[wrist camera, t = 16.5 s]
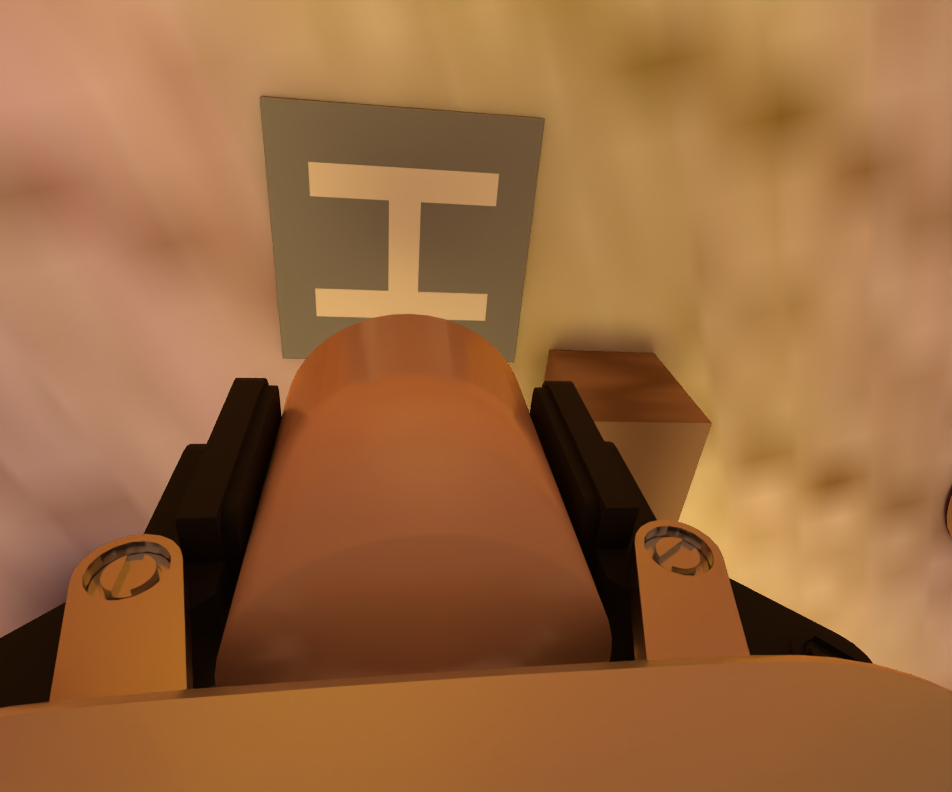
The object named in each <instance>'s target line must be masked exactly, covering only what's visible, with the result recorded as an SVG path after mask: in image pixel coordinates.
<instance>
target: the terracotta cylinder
mask: <svg viewBox="0 0 952 792" xmlns="http://www.w3.org/2000/svg"><path fill="white" fill-rule="evenodd" d="M611 647H612V636H611V631H610V625H609V620H608V618H607V615H606V613H605V610H604V607H603V605H602V602H601V599H600V597H599V594H598V592H597V589H596V586H595V584H594V581H593V578H592V576H591V573H590V571H589V568H588V565H587V563H586V560H585V557H584V555H583V552H582V550H581V547H580V544H579V542H578V539H577V536H576V534H575V531H574V529H573V526H572V523H571V521H570V518H569V515H568V513H567V510H566V508H565V505H564V502H563V500H562V497H561V494H560V492H559V489H558V487H557V484H556V481H555V479H554V476H553V473H552V471H551V468H550V466H549V463H548V460H547V458H546V455H545V452H544V450H543V447H542V445H541V442H540V439H539V437H538V434H537V431H536V429H535V426H534V424H533V421H532V418H531V416H530V413H529V410H528V408H527V405H526V403H525V400H524V397H523V395H522V392H521V389H520V387H519V384H518V382H517V379H516V377H515V375H514V372H513V371H512V369H511V367H510V366H509V364H508V362H507V361H506V360H505V358H504V357H503V356H502V355H501V354H500V352H499V351H498V350H497V349H496V348H495V347H494V346H493V345H491V344H490V343H489V342H488V341H487V340H486V339H484V338H483V337H481V336H480V335H478V334H477V333H475V332H474V331H472V330H470V329H468V328H466V327H464V326H462V325H460V324H457V323H455V322H452V321H449V320H446V319H442V318H438V317H433V316H428V315H418V314H393V315H386V316H380V317H375V318H371V319H368V320H364V321H361V322H358V323H356V324H353V325H351V326H349V327H346V328H344V329H342V330H341V331H339V332H337V333H336V334H334V335H332V336H330V337H329V338H328V339H327V340H325V341H324V342H323V343H321V344H320V345H319V346H318V347H317V348H316V349H315V350H314V351H313V352H312V353H311V354H310V355H309V356H308V357H307V358H306V360H305V361H304V362H303V364H302V365H301V366H300V368H299V369H298V371H297V373H296V375H295V377H294V379H293V381H292V383H291V386H290V389H289V392H288V395H287V399H286V402H285V406H284V410H283V414H282V417H281V421H280V425H279V428H278V432H277V436H276V440H275V443H274V447H273V451H272V455H271V458H270V462H269V466H268V469H267V473H266V477H265V481H264V484H263V488H262V492H261V496H260V499H259V503H258V507H257V510H256V514H255V518H254V522H253V525H252V529H251V533H250V536H249V540H248V544H247V548H246V551H245V555H244V559H243V563H242V566H241V570H240V574H239V577H238V581H237V585H236V589H235V592H234V596H233V600H232V604H231V607H230V611H229V615H228V618H227V622H226V626H225V630H224V633H223V637H222V641H221V645H220V648H219V652H218V656H217V661H216V669H215V685H216V687H228V686H242V685H257V684H271V683H285V682H300V681H314V680H329V679H343V678H358V677H374V676H389V675H405V674H420V673H435V672H451V671H467V670H483V669H499V668H515V667H531V666H548V665H565V664H582V663H599V662H609V661H610V657H611Z"/></svg>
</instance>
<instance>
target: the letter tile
mask: <svg viewBox="0 0 952 792" xmlns="http://www.w3.org/2000/svg"><path fill="white" fill-rule="evenodd" d="M260 107H261V118H262V129H263V140H264V152H265V163H266V174H267V185H268V197H269V208H270V219H271V231H272V242H273V253H274V264H275V276H276V287H277V298H278V309H279V321H280V332H281V343H282V355H283V359H306V358H307V357H308V356H309V355H310V354H311V353H312V352H313V351H314V350H315V349H316V348H317V347H318V346H319V345H320V344H321V343H323V342H324V341H325V340H327V339H328V338H329V337H330V336H332V335H334V334H336V333H337V332H339V331H341V330H342V329H344V328H346V327H349V326H351V325H353V324H356V323H358V322H361V321H364V320H368V319H371V318H375V317H380V316H386V315H393V314H418V315H428V316H433V317H438V318H442V319H446V320H449V321H452V322H455V323H457V324H460V325H462V326H464V327H466V328H468V329H470V330H472V331H474V332H475V333H477V334H478V335H480V336H481V337H483V338H484V339H486V340H487V341H488V342H489V343H490V344H491V345H493V346H494V347H495V348H496V349H497V350H498V351H499V352H500V354H501V355H502V356H503V357H504V358H505V360H506V361H507V362H514V359H515V351H516V343H517V335H518V327H519V319H520V311H521V303H522V295H523V287H524V280H525V272H526V264H527V256H528V248H529V240H530V232H531V224H532V216H533V208H534V200H535V193H536V185H537V177H538V169H539V161H540V153H541V145H542V137H543V129H544V121H545V119H544V118H536V117H523V116H510V115H497V114H484V113H471V112H458V111H445V110H432V109H420V108H407V107H394V106H381V105H368V104H355V103H342V102H329V101H316V100H303V99H290V98H277V97H264V96H261V97H260Z"/></svg>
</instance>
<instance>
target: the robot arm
mask: <svg viewBox="0 0 952 792" xmlns="http://www.w3.org/2000/svg"><path fill="white" fill-rule="evenodd" d="M530 416H531V418H532V421H533V424H534V426H535V429H536V431H537V434H538V437H539V439H540V442H541V445H542V447H543V450H544V452H545V455H546V458H547V460H548V463H549V466H550V468H551V471H552V473H553V476H554V479H555V481H556V484H557V487H558V489H559V492H560V494H561V497H562V500H563V502H564V505H565V508H566V510H567V513H568V515H569V518H570V521H571V523H572V526H573V529H574V531H575V534H576V536H577V539H578V542H579V544H580V547H581V550H582V552H583V555H584V557H585V560H586V563H587V565H588V568H589V571H590V573H591V576H592V578H593V581H594V584H595V586H596V589H597V592H598V594H599V597H600V599H601V602H602V605H603V607H604V610H605V613H606V615H607V618H608V620H609V625H610V631H611V636H612V647H611V657H610V661H609V662H599V663H582V664H565V665H548V666H531V667H515V668H499V669H483V670H467V671H451V672H435V673H420V674H405V675H389V676H374V677H358V678H343V679H329V680H314V681H300V682H285V683H271V684H257V685H242V686H228V687H213V688H212V686H213V685H214V684H215V669H216V661H217V656H218V652H219V648H220V645H221V641H222V637H223V633H224V630H225V626H226V622H227V618H228V615H229V611H230V607H231V604H232V600H233V596H234V592H235V589H236V585H237V581H238V577H239V574H240V570H241V566H242V563H243V559H244V555H245V551H246V548H247V544H248V540H249V536H250V533H251V529H252V525H253V522H254V518H255V514H256V510H257V507H258V503H259V499H260V496H261V492H262V488H263V484H264V481H265V477H266V473H267V469H268V466H269V462H270V458H271V455H272V451H273V447H274V443H275V440H276V436H277V432H278V428H279V425H280V421H281V407H280V396H279V389H278V386H269V385H268V381H267V379H266V378H236V379H235V380H234V382H233V385H232V387H231V389H230V391H229V394H228V396H227V398H226V401H225V403H224V405H223V408H222V410H221V412H220V414H219V417H218V419H217V421H216V424H215V426H214V428H213V431H212V433H211V435H210V438H209V440H208V442H207V444H189V445H187V447H186V448H185V450H184V451H183V453H182V455H181V458H180V460H179V462H178V464H177V466H176V468H175V470H174V472H173V474H172V476H171V478H170V480H169V482H168V485H167V487H166V489H165V491H164V493H163V495H162V497H161V499H160V501H159V503H158V505H157V507H156V509H155V512H154V514H153V516H152V518H151V520H150V522H149V524H148V526H147V528H146V530H145V532H144V534H142V535H132V536H127V537H124V538H120V539H117V540H114V541H111V542H109V543H107V544H105V545H103V546H101V547H99V548H97V549H96V550H95V551H93V552H92V553H90V554H89V555H88V556H86V557H85V558H84V559H83V560H82V561H81V562H80V564H79V565H78V566H77V567H76V568H75V570H74V572H73V574H72V577H71V579H70V582H69V587H68V593H67V599H66V602H65V603H63V604H62V605H60V606H58V607H56V608H54V609H52V610H51V611H49V612H47V613H45V614H43V615H42V616H40V617H38V618H36V619H34V620H32V621H31V622H29V623H27V624H25V625H23V626H22V627H20V628H18V629H16V630H14V631H12V632H11V633H9V634H7V635H5V636H3V637H2V638H0V792H952V691H951V690H949V689H947V688H944V687H942V686H940V685H937V684H935V683H933V682H931V681H928V680H925V679H922V678H920V677H917V676H914V675H912V674H908V673H905V672H901V671H897V670H894V669H890V668H886V667H883V666H879V665H876V664H873V663H872V662H871V660H870V659H869V658H868V656H867V655H866V654H865V653H863V652H862V651H861V650H860V649H859V648H858V647H857V646H855V645H854V644H853V643H851V642H850V641H848V640H847V639H845V638H843V637H842V636H840V635H839V634H837V633H835V632H833V631H831V630H829V629H827V628H825V627H823V626H821V625H819V624H817V623H815V622H813V621H812V620H810V619H808V618H806V617H804V616H802V615H800V614H798V613H796V612H794V611H792V610H790V609H788V608H786V607H784V606H782V605H781V604H779V603H777V602H775V601H773V600H771V599H769V598H767V597H765V596H763V595H761V594H759V593H757V592H755V591H753V590H751V589H749V588H748V587H746V586H744V585H742V584H740V583H738V582H736V581H734V580H732V579H730V578H729V577H728V573H727V569H726V566H725V562H724V558H723V556H722V554H721V552H720V550H719V547H718V546H717V545H716V544H715V543H714V542H713V541H712V540H711V538H709V537H708V536H707V535H705V534H704V533H702V532H701V531H700V530H698V529H696V528H694V527H691V526H689V525H687V524H684V523H680V522H676V521H670V520H657V519H656V517H655V515H654V513H653V512H652V510H651V508H650V506H649V504H648V503H647V501H646V499H645V497H644V495H643V494H642V492H641V490H640V488H639V487H638V485H637V483H636V481H635V479H634V478H633V476H632V474H631V472H630V470H629V469H628V467H627V465H626V463H625V461H624V460H623V458H622V456H621V454H620V452H619V451H618V449H617V447H616V446H615V444H614V443H613V442H610V441H604V440H603V438H602V436H601V434H600V432H599V430H598V428H597V426H596V425H595V423H594V421H593V419H592V417H591V415H590V413H589V411H588V410H587V408H586V406H585V404H584V402H583V400H582V398H581V397H580V395H579V393H578V391H577V389H576V387H575V385H574V383H573V382H572V381H545V382H544V383H543V385H542V388H535V389H534V391H533V396H532V402H531V409H530ZM947 528H948V530H949V533H950V535H951V538H952V496H951V498H950V502H949V506H948V511H947Z"/></svg>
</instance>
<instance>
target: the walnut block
mask: <svg viewBox="0 0 952 792" xmlns="http://www.w3.org/2000/svg"><path fill="white" fill-rule="evenodd" d="M545 381H572V382H573V383H574V385H575V387H576V389H577V391H578V393H579V395H580V397H581V398H582V400H583V402H584V404H585V406H586V408H587V410H588V411H589V413H590V415H591V417H592V419H593V421H594V423H595V425H596V426H597V428H598V430H599V432H600V434H601V436H602V438H603V440H604V441H610V442H613V443H614V444H615V446H616V447H617V449H618V451H619V452H620V454H621V456H622V458H623V460H624V461H625V463H626V465H627V467H628V469H629V470H630V472H631V474H632V476H633V478H634V479H635V481H636V483H637V485H638V487H639V488H640V490H641V492H642V494H643V495H644V497H645V499H646V501H647V503H648V504H649V506H650V508H651V510H652V512H653V513H654V515H655V517H656V519H657V520H670V521H676V522H678V520H679V517H680V514H681V511H682V508H683V505H684V502H685V500H686V497H687V494H688V491H689V488H690V485H691V482H692V479H693V476H694V473H695V470H696V468H697V465H698V462H699V459H700V456H701V453H702V450H703V447H704V444H705V441H706V439H707V436H708V433H709V430H710V427H711V424H712V423H711V422H710V420H709V419H708V418H707V417H706V416H705V414H704V413H703V412H702V411H701V410H700V408H699V407H698V406H697V405H696V403H695V402H694V401H693V400H692V399H691V397H690V396H689V395H688V394H687V393H686V391H685V390H684V389H683V388H682V387H681V385H680V384H679V383H678V382H677V381H676V379H675V378H674V377H673V376H672V374H671V373H670V372H669V371H668V370H667V368H666V367H665V366H664V365H663V364H662V362H661V361H660V360H659V359H658V358H657V356H656V355H655V354H654V353H636V352H605V351H573V350H549V356H548V362H547V367H546V373H545V379H544V382H545Z"/></svg>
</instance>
